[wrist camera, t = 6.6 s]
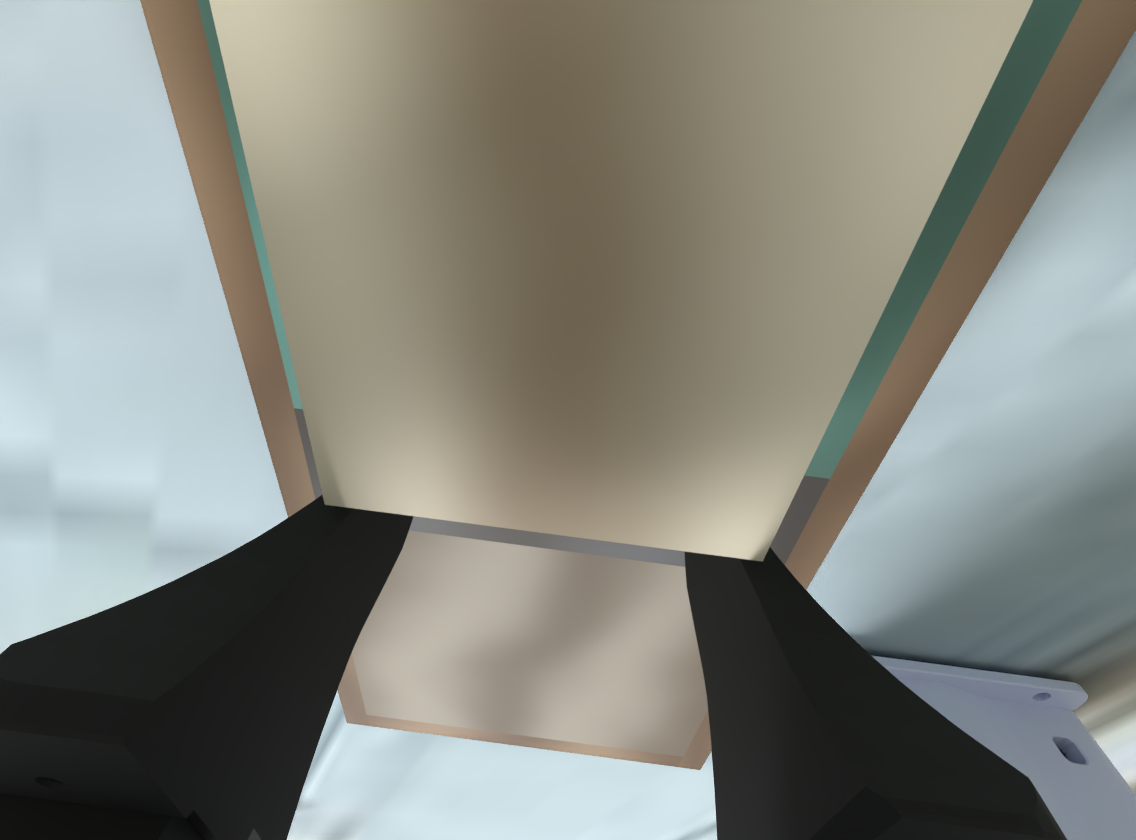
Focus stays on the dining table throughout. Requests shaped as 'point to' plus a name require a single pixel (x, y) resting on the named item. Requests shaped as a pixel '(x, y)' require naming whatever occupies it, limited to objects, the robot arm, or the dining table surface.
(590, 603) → the shallow brown tray
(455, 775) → the dining table surface
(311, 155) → the birch block
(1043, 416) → the dining table surface
